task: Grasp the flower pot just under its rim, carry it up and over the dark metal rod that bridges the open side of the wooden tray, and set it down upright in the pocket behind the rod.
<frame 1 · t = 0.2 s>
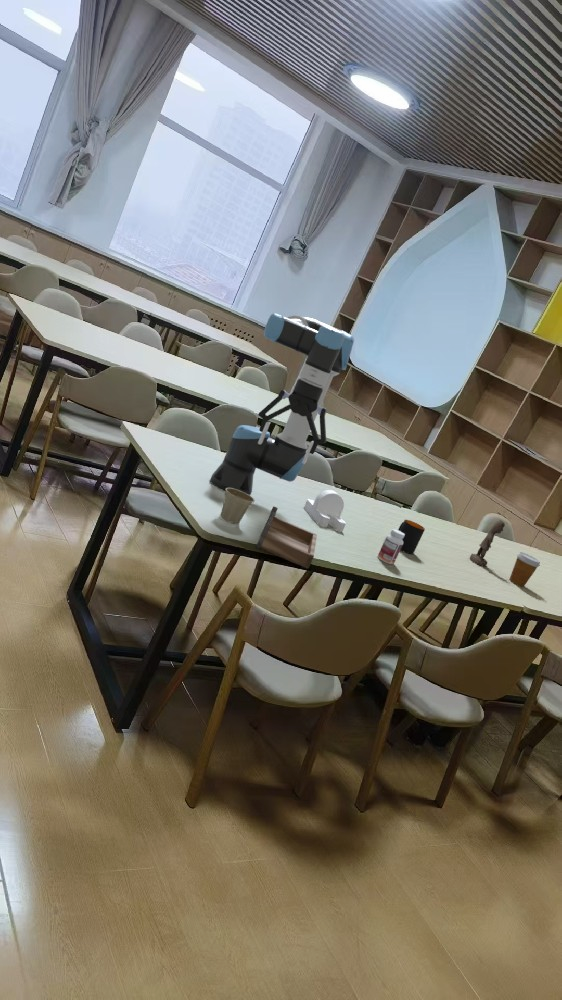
hand: (281, 453, 213), 27 cm above the table, fingers open, 13 cm apart
pill bottle: (385, 561, 259), on the table
flower pot: (229, 520, 230), on the table
disposable coffee cup: (516, 583, 309), on the table
wooden tray: (286, 546, 227), on the table
mug: (400, 547, 287), on the table
figurine: (477, 562, 317), on the table
bracket: (322, 520, 278), on the table
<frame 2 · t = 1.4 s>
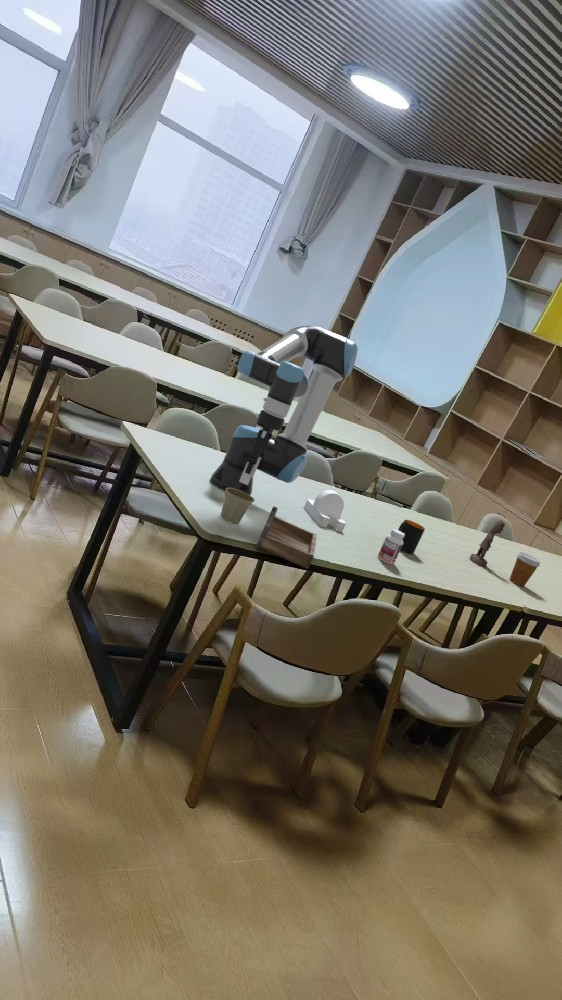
hand: (246, 479, 227), 14 cm above the table, fingers open, 13 cm apart
nothing on the table moved.
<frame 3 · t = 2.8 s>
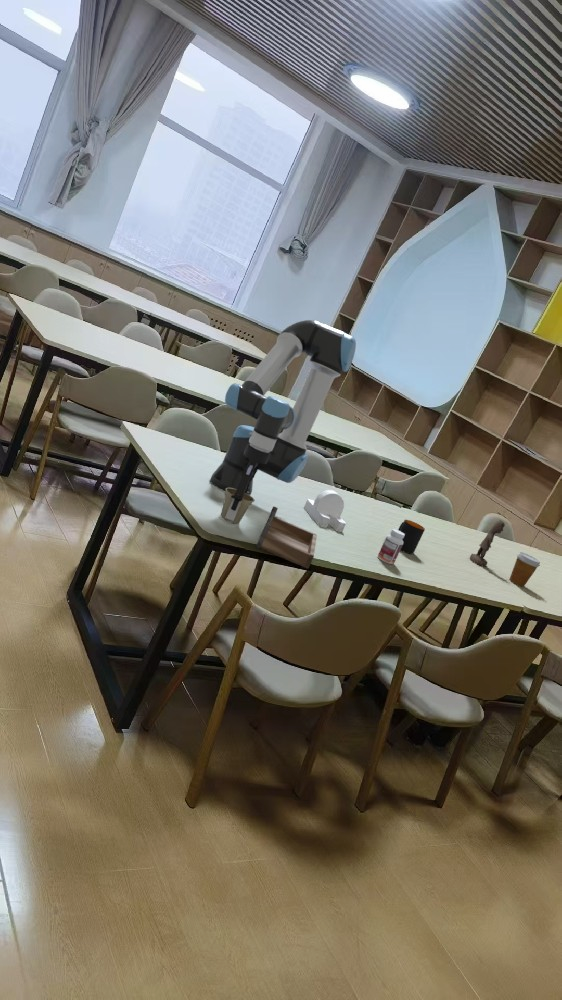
hand: (231, 515, 230), 2 cm above the table, fingers closed on flower pot, 9 cm apart
flower pot: (229, 520, 230), on the table, touching gripper
everything else where it was.
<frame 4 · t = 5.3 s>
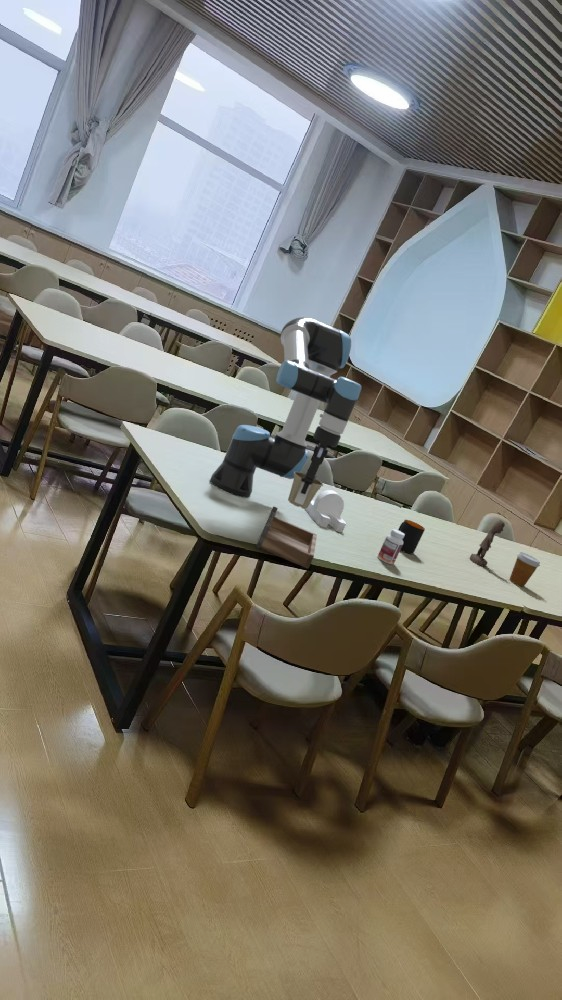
hand: (299, 499, 224), 15 cm above the table, fingers closed on flower pot, 9 cm apart
flower pot: (297, 505, 224), point 13 cm above the table, touching gripper
everything else where it was.
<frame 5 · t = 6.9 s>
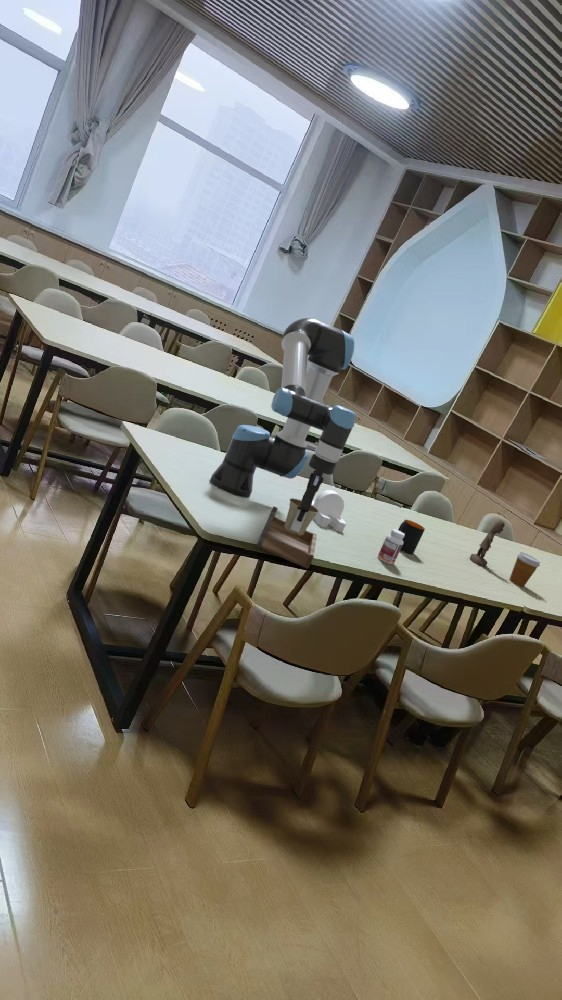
hand: (295, 526, 226), 7 cm above the table, fingers closed on flower pot, 9 cm apart
flower pot: (293, 531, 226), point 5 cm above the table, touching gripper
everything else where it was.
when the fingers open (4 cm above the table, at t = 8.0 s): flower pot drops 1 cm, resting on wooden tray.
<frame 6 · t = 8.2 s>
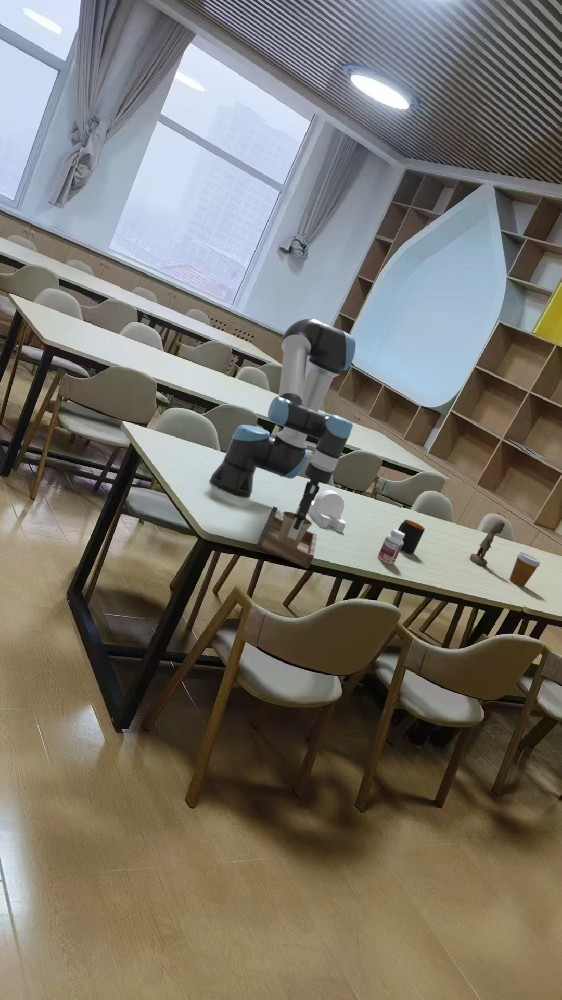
hand: (292, 533, 226), 5 cm above the table, fingers open, 11 cm apart
flower pot: (287, 544, 227), point 1 cm above the table, touching wooden tray
everything else where it was.
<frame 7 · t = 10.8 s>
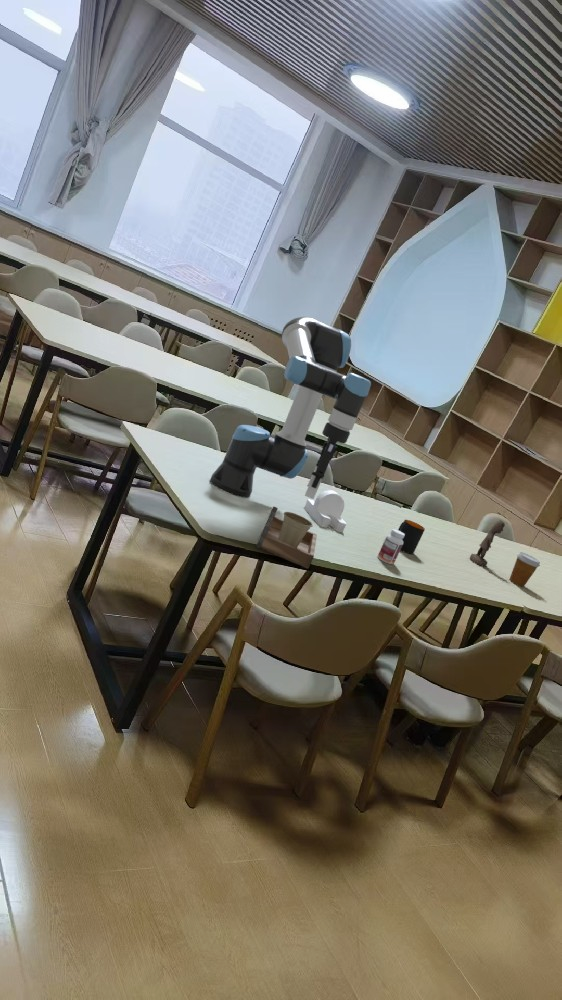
hand: (310, 492, 224), 18 cm above the table, fingers open, 13 cm apart
nothing on the table moved.
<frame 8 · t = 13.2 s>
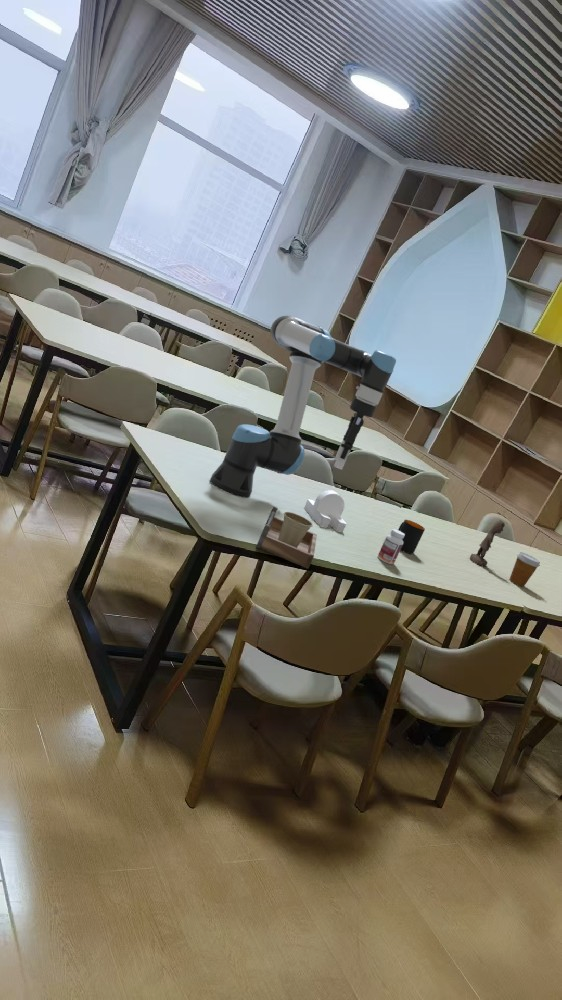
hand: (337, 464, 236), 27 cm above the table, fingers open, 13 cm apart
nothing on the table moved.
at the end: flower pot inside the target area on the wooden tray (0.2 cm from its centre), point 0.6 cm above the wooden tray's base; flower pot tilted 0°; the gripper is holding nothing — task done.
